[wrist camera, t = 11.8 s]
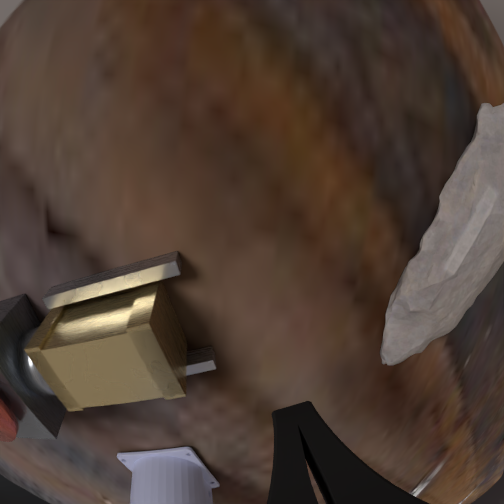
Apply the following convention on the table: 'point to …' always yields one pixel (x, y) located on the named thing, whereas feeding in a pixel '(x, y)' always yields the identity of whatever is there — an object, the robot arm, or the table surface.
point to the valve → (26, 324)
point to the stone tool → (453, 247)
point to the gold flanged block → (112, 349)
